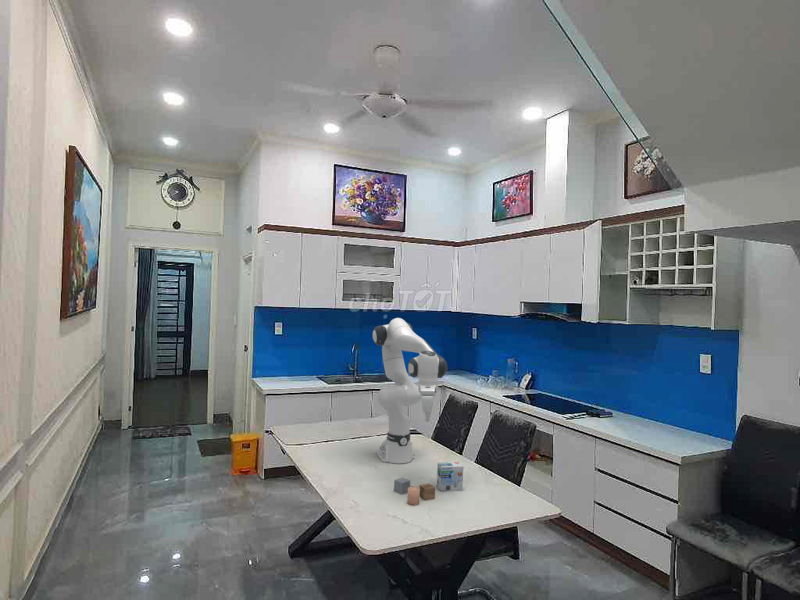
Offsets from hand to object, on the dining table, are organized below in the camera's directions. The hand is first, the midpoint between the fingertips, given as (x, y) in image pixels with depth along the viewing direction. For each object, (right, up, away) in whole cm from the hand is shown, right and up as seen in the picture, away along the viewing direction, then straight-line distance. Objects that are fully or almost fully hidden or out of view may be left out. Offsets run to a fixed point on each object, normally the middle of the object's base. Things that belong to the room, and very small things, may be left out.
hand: (428, 419), depth 224 cm
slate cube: (-12, -31, -2) cm, 33 cm away
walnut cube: (-1, -32, -8) cm, 33 cm away
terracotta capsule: (-7, -32, -14) cm, 35 cm away
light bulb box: (+10, -32, +4) cm, 34 cm away
